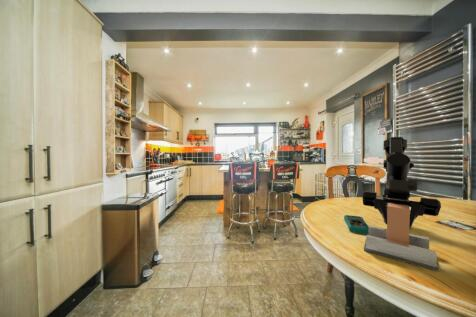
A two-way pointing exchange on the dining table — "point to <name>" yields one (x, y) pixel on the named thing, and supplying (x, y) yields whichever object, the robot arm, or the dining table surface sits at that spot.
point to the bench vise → (401, 248)
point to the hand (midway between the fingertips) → (397, 225)
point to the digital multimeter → (356, 224)
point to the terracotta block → (398, 223)
